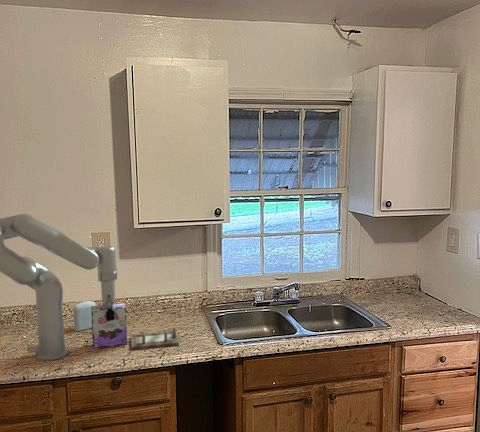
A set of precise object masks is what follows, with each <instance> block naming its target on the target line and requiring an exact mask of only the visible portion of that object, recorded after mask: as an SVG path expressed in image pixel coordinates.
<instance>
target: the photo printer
mask: <svg viewBox="0 0 480 432" xmlns="http://www.w3.org/2000/svg"><path fill="white" fill-rule="evenodd" d="M92 306H97V305H96V302H95V301H92V300H91V301H89V300H88V301H82V302H80V303H76V304H75V305H73V309H72V311H73V330H74V332H79V331H80V332H81V331H84V330H85V331H86V330H89V329H92Z"/></svg>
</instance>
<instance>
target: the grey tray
mask: <svg viewBox="0 0 480 432" xmlns="http://www.w3.org/2000/svg"><path fill="white" fill-rule="evenodd" d="M176 328H177V327H175V326H174V327H172V330H171V331H163V332H162V331H160V332H152V333H151V332H150V333H141V334H132V335H130V345H131V351H137V350H145V349H147V348H148V349H156V347H157V348H166V346H167V347H174V346H176V345H177V346H180V343H179V342H180V341H179V339H178V337H177V336H178V335H177V333H176V332H177V329H176ZM148 349H147V350H148Z"/></svg>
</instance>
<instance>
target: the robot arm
mask: <svg viewBox="0 0 480 432" xmlns="http://www.w3.org/2000/svg"><path fill="white" fill-rule="evenodd" d="M18 237H20V238H21V239H24V240H26V241H28V242H30V243H32V244H34V245H36V246H38V247H39V248H42V249H43V250H45V251H47V252H49V253H52V254H53V255H55V256H58V257H60V258H62V259H64V260H65V261H68V262H69V263H71V264H74V265H76V266H78V267H80V268H81V269H84V270H94V269H95V268H97V277H98V279H97V280H98V282H99V283H100V286H101V287H100V288H101V291H100V292H101V302H102V303H101V305H103V306H104V305H106V320H107V321H111V320H115V317H114V310H113V305H114V304H116V303H115V302H116V284H115V281H117V280H118V272H117V271H118V270H117V268H118V267H117V259H116V258H117V255H116V248H115V246H112V245H102V246H98V247H97V246H96V247H94V246H84V245H82V244H80V243H77V242H76V241H74V240H73V239H72V238H70V237H69V236H67V235H66V234H65V233H63V232H62V231H60V230H59V229H56V228H53V227H51V226H50V225H48V224H46V223H44V222H42V221H40V220H38V219H36V218H34V217H33V216H32V215H31V214H28V213H20V214H15V215H11V216H7V217H1V218H0V273H2V274H3V275H5V276H7V277H8V278H10V279H11V280H12V281H14V282H15V283H16V284H18V285H21V286H27V287H29V288H31V289H32V290H33V291H34V292H35V300H36V301H35V302H36V304H35V305H36V320H37V321H36V322H37V323H36V324H37V335H38V336H37V337H38V344H36V345H27V347H26V351H27V352H29V353H32V354H33V353H35V354H34V355H35V356H34V357H35V359H36V360H39V361H46V362H47V361H54V360H59V359H62V358H64V357H67V356H68V355H69V354H70V348H69V347H68V346H66V345H65V326H64V323H65V322H64V311H63V310H64V309H63V308H64V307H63V304H64V303H63V295H64V294H63V293H64V292H63V291H64V290H63V285H62V283H61V281H60V279H59V278H58V276H57V275H56V274H55V273H54V272H52V271H51V270H50V269H47V267H45V266H44V265H41V264H40V263H38V262H37V261H36V260H34V259H32V258H31V257H28V256H21V255H19V254H18V253H16V252H15V251H13V250H12V249H11V248H8V247H7V246H6V244H5V240H8V239H14V238H18ZM111 305H112V306H111Z"/></svg>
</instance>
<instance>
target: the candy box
mask: <svg viewBox="0 0 480 432" xmlns="http://www.w3.org/2000/svg"><path fill="white" fill-rule="evenodd" d="M126 305H127V304H126V303H115V304H114V305H113V310H114V317H115V320H111V321H107V320H106V305H104V306H103V305H102V304H101V305H96V306H92V328H91V336H92V337H91V338H92V348H93V349H99V348H107V347H109V348H110V347H116V346H117V347H118V346H126V345H128V336H127V331H128V329H127V307H126ZM111 306H112V305H111Z"/></svg>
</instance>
